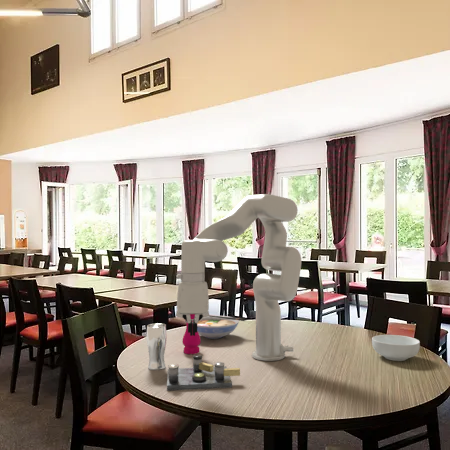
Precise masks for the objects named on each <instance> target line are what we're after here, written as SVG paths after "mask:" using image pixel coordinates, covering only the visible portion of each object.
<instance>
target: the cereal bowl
mask: <svg viewBox="0 0 450 450" xmlns="http://www.w3.org/2000/svg"><path fill="white" fill-rule="evenodd" d="M420 343H421V342H420V340H419V339H417V338H414V337H411V336H407V335H400V334H399V335H398V334H380V335H374V336H373V337H371V346H372V348H373V350H374V351H375V352H376V353H377V354H379V355H380V356H382V357H384V358H385V359H386V360H389V361H395V362H402V361H403V362H404V361H406V360H408V359H410V358H414V357H415V356H417V354H418V353H419V351H420V348H421V344H420Z"/></svg>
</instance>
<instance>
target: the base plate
mask: <svg viewBox="0 0 450 450" xmlns="http://www.w3.org/2000/svg"><path fill="white" fill-rule="evenodd" d="M224 369H227V366H225V365H224ZM166 376H167V377H166V379H167V381H166V391H170V392H171V391H189V390H209V389H211V390H212V389H230V388H231V389H232V388H233V381H232V379H231V376H224V379H221V380H218V379H215V366H213V372H207V371H204V370H202V371H193V367H183V368H182V367H179V368H178V381H175V382H171V381H169V368H168V369H167V375H166Z"/></svg>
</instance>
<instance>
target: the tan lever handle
mask: <svg viewBox="0 0 450 450" xmlns="http://www.w3.org/2000/svg"><path fill="white" fill-rule="evenodd" d="M192 360H193V361H192V368H193V371H202V370H204V371H207V372H213V367H214V365H213V364H210V363H206V362H203V355H202V354H193V355H192Z"/></svg>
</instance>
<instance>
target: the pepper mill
mask: <svg viewBox="0 0 450 450" xmlns="http://www.w3.org/2000/svg"><path fill="white" fill-rule="evenodd" d="M190 318H191V320H192V324H193V320H194V318H195V314H190ZM184 321H185V324H186V326H185V327H186V328H185V332H184V334H183V337H182V345H183V346H184V347H183V353H184V354H186V355H198V354H199V353H200V347H199V345H200V344H201V335H199V333H198V331H197V333H195V336H194V335H193V332H192V336H190V333H188V323H187V321H186V320H185V319H184Z"/></svg>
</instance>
